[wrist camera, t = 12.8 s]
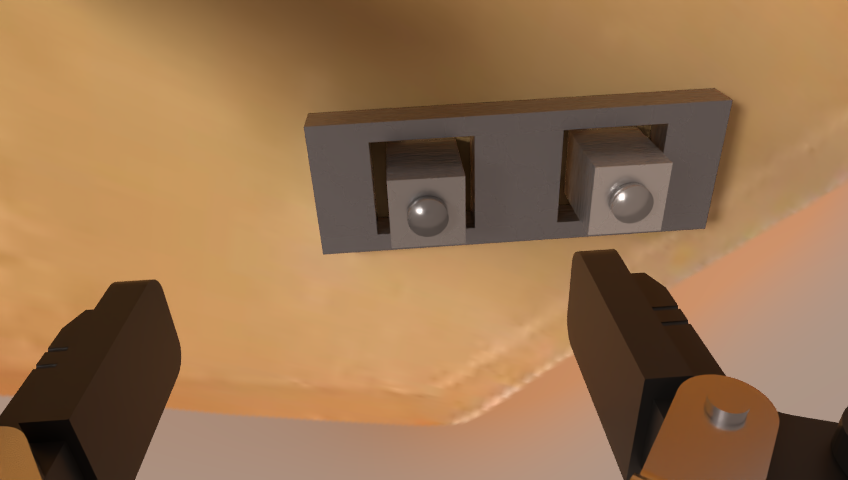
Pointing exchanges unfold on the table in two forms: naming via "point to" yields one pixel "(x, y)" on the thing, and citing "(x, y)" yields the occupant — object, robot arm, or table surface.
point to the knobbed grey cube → (425, 193)
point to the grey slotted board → (511, 161)
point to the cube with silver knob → (616, 180)
